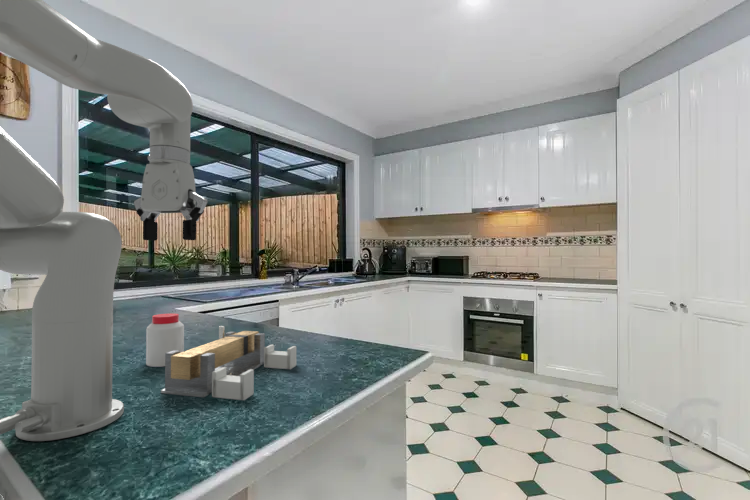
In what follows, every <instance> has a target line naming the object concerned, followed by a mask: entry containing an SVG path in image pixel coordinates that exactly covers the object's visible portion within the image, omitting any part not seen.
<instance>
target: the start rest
mask: <svg viewBox="0 0 750 500" xmlns="http://www.w3.org/2000/svg"><path fill="white" fill-rule="evenodd" d="M296 366H297V346H296V345H292V346H290V347H288V348H287V350H286V351H282V350H275V344H269V345H267V346H265V348H264V364H263V367H264V368H269V369H270V368H271V369H279V370H280V369H281V370H282V369H283V370H292V369H293V368H295V367H296ZM254 375H255V369H254V370H252V369H249V370H248V371H246V372H244V373H242V374H240V376H231V375H226V367H222V368H220V369H218V370H216V371H213V372H212V393H211V397H212V398H219V399H228V400H238V401H246V400H247V399H249V398H250V397H251V396H253V395H254V394H255V392H254V389H255V387H254V386H255V385H254V381H255V379H254V378H255V376H254Z"/></svg>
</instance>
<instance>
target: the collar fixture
mask: <svg viewBox="0 0 750 500" xmlns="http://www.w3.org/2000/svg"><path fill="white" fill-rule="evenodd" d="M236 333H237V331H228V332H225V325H219V326H218V340H219V339H221V338H224V337H227V336H229V335H233V334H236ZM265 335H266V333H265V332H263V333H261V332H259V333H258V334H255V335H254V351H252V352H250V353H248V354H246V355H244V356H241V357H239V358H237V359H235V360H232V361H230V362H228V363H226V364H224V365H222V366H219V367H217V368H215V353H206V354H204V355H201V356H200V376H198V377H195V378H193V379H191V380H184V379H173V378H171V356H172V355H175V354H178V353H180V351H174V350H173V351H170V352H167V353H165V366H164V368H165V369H164V388H162V389H160V394H166V395H177V396H187V397H198V398H205V397H207V396H209V395H212V372H213V371H216V370H218V369H220V368H222V367H226V375H231V376H240V374H242V373H244V372H246V371H248V370H249V369H252V370H254V371H255V369H256V370H257V369H258V368H260V367H261V366H264V348H265V347H266V346H265V345H266V341H265V340H266V338H265V337H266V336H265Z"/></svg>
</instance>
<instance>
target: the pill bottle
mask: <svg viewBox="0 0 750 500" xmlns="http://www.w3.org/2000/svg"><path fill="white" fill-rule="evenodd" d="M179 317H180V314H179V313H170V312H169V313H159V314H154V315H152V319H151V323H150V324H148V325H147V327H146V330H145V334H146V337H145V340H146V341H145V343H146V344H145V346H146V347H145V348H146V349H145V350H146V351H145V365H146V366H147V367H151V368H152V367H153V368H157V367H158V368H159V367H160V368H161V367H165V353H167V352H170V351H173V350H174V351H180V353H181V352H184V351H185V325H184V323H182V321H180V320H179V319H180V318H179Z"/></svg>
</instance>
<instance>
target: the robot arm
mask: <svg viewBox="0 0 750 500" xmlns="http://www.w3.org/2000/svg"><path fill="white" fill-rule="evenodd" d="M0 53H4V54H6V55H8V56H9V57H11V58H13V59H15V60H17V61H19V62H21V63H23V64H25V65H27V66H29V67H31V68H32V69H35V70H36V71H38V72H39V73H42V74H43V75H46V76H47V77H49V78H51V79H53V80H54V81H56V82H58V83H60V84H62V85H63V86H66V87H69V88H71V89H75V90H79V91H84V92H87V93H88V92H89V93H94V94H101V95H107V103H108V106H109V108H110V110H111V111H112V113H113V114H114V115H115V116H116V117H118V118H119V119H120V120H121V121H123V122H125V123H127V124H130V125H134V126H138V127H142V128H146V129H148V130H149V154H148V155H147V161H149V163H146V165H145V168H144V172H143V177H142V184H141V185H142V186H141V196H140V197H139V198H137V199H136V200H134V202H133V206H134V207H135V210H136V214H137V215H138V217H139V219H140V221H141V222H142V240H144V241H153V242H154V241H155V242H156V241H157V240H158V233H159V231H158V226H159V225H158V222H157V221H156V220H157V219H158V217H159V216H160V214H182V216H183V217H184V218H185V219H183V220H182V240H184V241H196V240H197V222H199V221H200V217H201V216H202V215H203V214H204V213H205V209H206V206H207V205H208V203H209V202H208V199H207V198H205V197H203V196H201V195H199V194H198V193H197V191H196V181H195V175H194V174H195V173H194V170H193V166H192V165H191V117H192V114H193V110H194V106H193V105H194V103H193V100H192V96H191V94H190V92H189V90H188V89H187V88H186V86H185V85H184V83H182V82H181V80H179V78H177V77H176V76H175V75H173V74H172V73H171V72H170V70H167V69H166V68H165V67H164V66H162V65H160V64H159V63H157V62H155V61H154V60H152V59H149V58H147V57H145V56H142V55H140V54H137V53H135V52H133V51H129V50H126V49H125V48H122V47H120V46H117V45H115V44H112V43H108V42H106V41H103V40H100V39H97V38H95V37H94V36H92V35H90V34H89V33H87V32H86V31H85V30H83V29H82V28H81V27H79V26H78V25H76V24H75V23H74V22H73V21H71V20H70V19H69V18H67V17H65V15H63V14H61V13H60V12H59V11H57V10H56V9H55V8H53V7H52V6H51V5H49V4H48V3H46V1H44V0H0ZM62 191H63V190H62V189H61V187H60V186H59V184H58V183H57V182H56V180H55V179H54V178H53V177H52V176H51V175H50V174H49V173H48V172H47V171H46V170H45V169H44V168H43V167H42V166H41V165H40V164H39V162H37V161H36V160H35V159H34V158H33V157H32V156H31V155H30V154H29V153H28V152H27V151H26V150H24V148H23V147H22V146H20V144H19V143H17V141H16V140H14V138H13V137H11V136H10V135H9V134H8V133H7V132H6V131H5V130H4V128H2V127H1V126H0V271H3V272H5V273H8V274H13V275H29V276H30V275H31V276H33V275H34V276H35V275H37V276H38V275H39V276H40V275H44V276H45V275H46V276H45V277H44V280H43V281H42V284H41V285H40V286H39V288H38V290H37V291H36V294H35V297H34V298H33V299H34V300H33V304H32V308H31V309H32V311H31V324H32V325H31V372H30V373H31V381H30V382H31V385H30V387H31V388H30V399H28V400H26V401H23V402H21V408H20V409H19V410H17V411H16V412H15V414H12V415H10V416H5V417H2V418H0V435H3V434H5V433H7V432H11V431H13V430H15V436H16V437H17V438H18V439H20V440H23V441H28V442H29V441H30V442H45V441H46V442H49V441H56V440H63V439H67V438H73V437H76V436H80V435H83V434H87V433H91V432H93V431H96V430H99V429H101V428H103V427H105V426H108V425H110V424H111V423H113V422H116V421H117V420H118V419H119V418H120V417H122V415H123V414H124V411H125V405H124V403H123V402H122V401H120V400H119V399H114V398H113V355H114V354H113V352H114V351H113V350H114V349H113V348H114V347H113V344H114V342H113V341H114V339H113V338H114V335H113V334H114V293H115V292H114V290H115V280H116V275H117V269H118V265H119V262H120V258H121V253H122V247H123V246H122V244H123V243H122V236H121V233H120V231H119V228H118V227H117V226H116V225H115V224H114V223H113V221H111V220H110V219H108V218H107V217H105V216H102V215H100V214H96V213H91V212H86V211H63V209H64V203H65V199H64V198H65V197H64V194H63V192H62Z"/></svg>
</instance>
